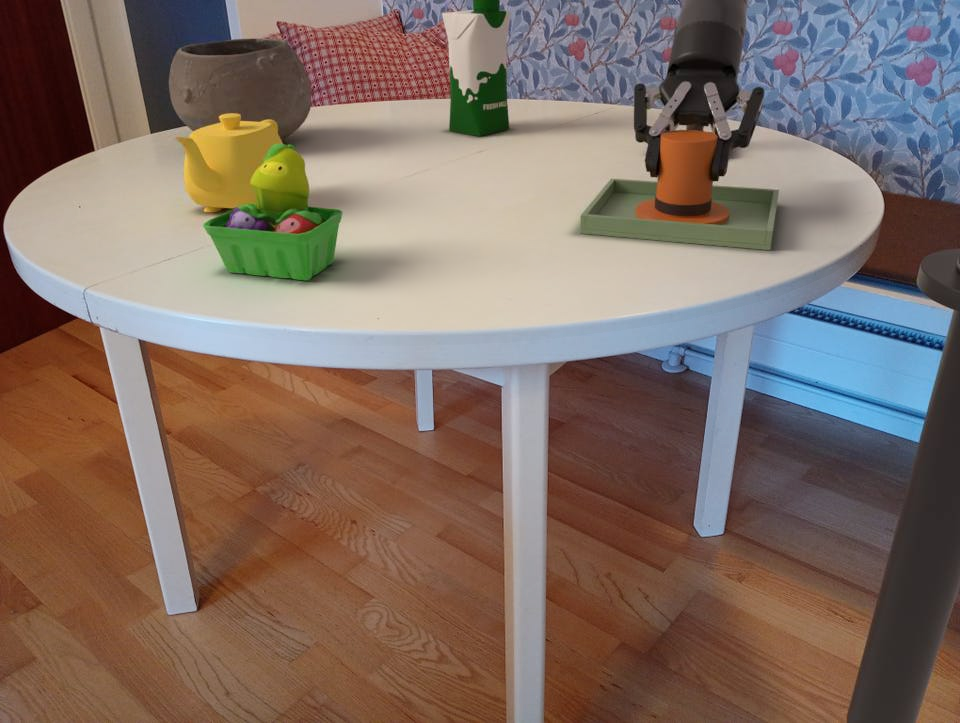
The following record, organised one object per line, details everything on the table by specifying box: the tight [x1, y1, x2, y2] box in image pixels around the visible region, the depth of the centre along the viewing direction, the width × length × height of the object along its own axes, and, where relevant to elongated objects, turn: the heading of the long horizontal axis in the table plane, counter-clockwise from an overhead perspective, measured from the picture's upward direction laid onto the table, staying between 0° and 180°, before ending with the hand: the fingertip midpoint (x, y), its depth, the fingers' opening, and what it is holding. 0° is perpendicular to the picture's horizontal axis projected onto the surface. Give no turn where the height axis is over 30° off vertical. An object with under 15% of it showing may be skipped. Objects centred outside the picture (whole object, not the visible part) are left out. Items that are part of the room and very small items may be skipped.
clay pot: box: [168, 38, 312, 141], centre depth 126 cm, size 21×21×15 cm
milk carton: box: [441, 0, 512, 137], centre depth 130 cm, size 9×9×20 cm
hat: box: [636, 129, 730, 225], centre depth 88 cm, size 10×10×9 cm
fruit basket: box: [202, 143, 343, 281], centre depth 78 cm, size 11×9×11 cm
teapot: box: [174, 113, 284, 213], centre depth 96 cm, size 18×11×11 cm, turn 159°
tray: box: [579, 178, 780, 251], centre depth 90 cm, size 19×15×2 cm
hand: (683, 174), depth 86 cm, fingers closed on hat, 5 cm apart
